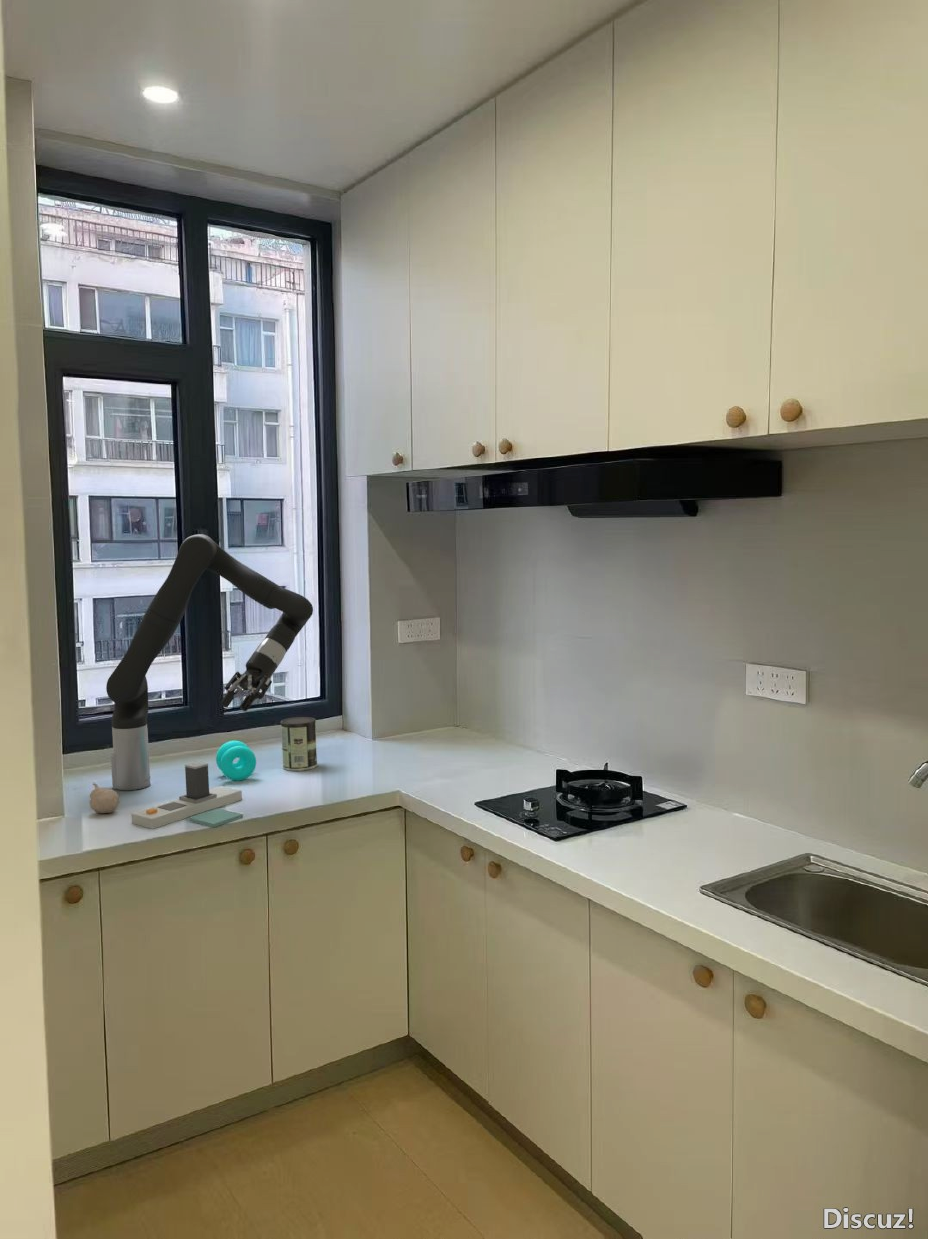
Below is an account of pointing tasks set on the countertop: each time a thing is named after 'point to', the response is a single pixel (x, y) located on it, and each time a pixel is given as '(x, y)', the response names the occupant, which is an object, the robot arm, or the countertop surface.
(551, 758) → the countertop surface
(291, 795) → the countertop surface
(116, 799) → the garlic bulb
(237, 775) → the donuts
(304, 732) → the coffee can
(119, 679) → the robot arm
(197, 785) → the block
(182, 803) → the strip
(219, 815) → the pad
